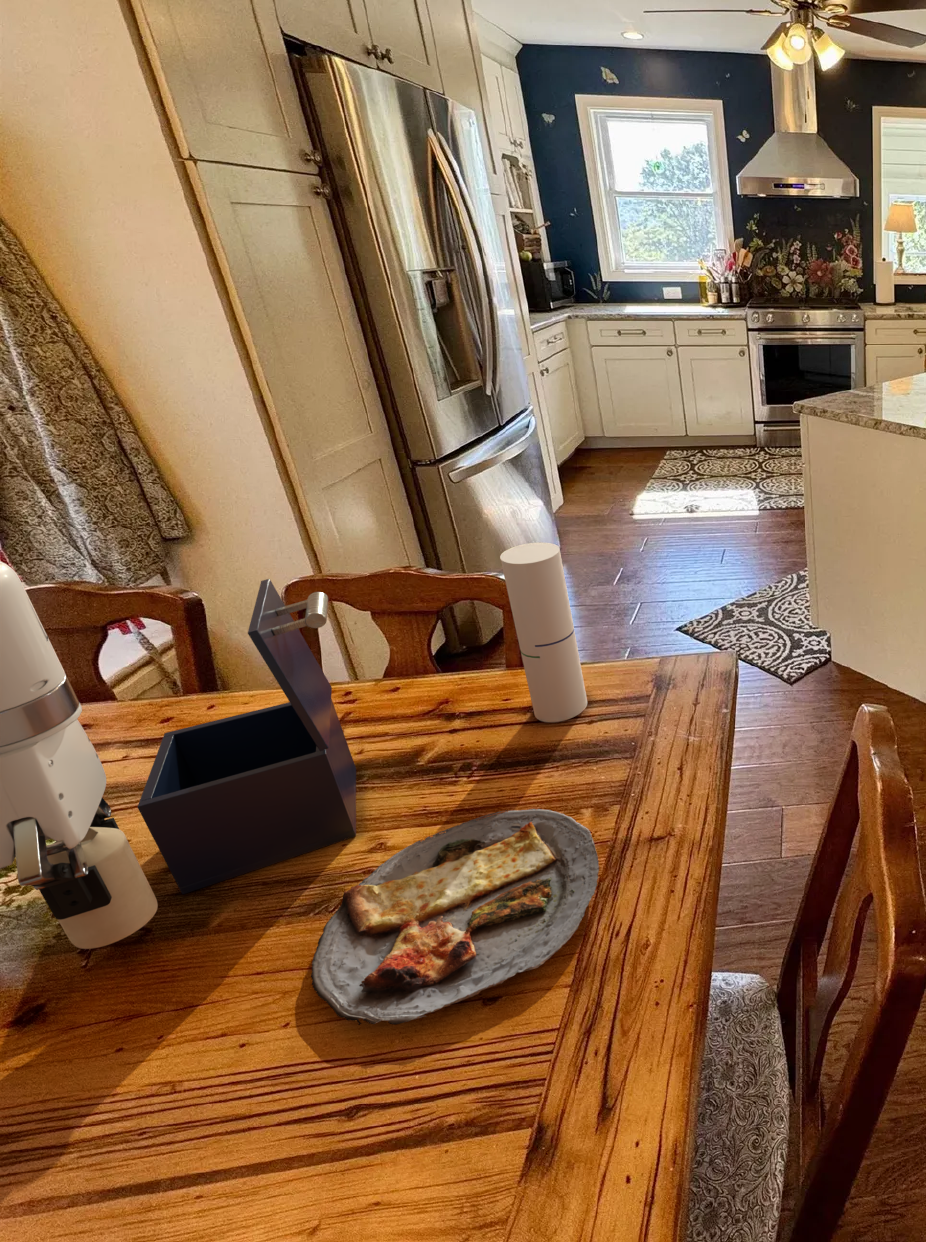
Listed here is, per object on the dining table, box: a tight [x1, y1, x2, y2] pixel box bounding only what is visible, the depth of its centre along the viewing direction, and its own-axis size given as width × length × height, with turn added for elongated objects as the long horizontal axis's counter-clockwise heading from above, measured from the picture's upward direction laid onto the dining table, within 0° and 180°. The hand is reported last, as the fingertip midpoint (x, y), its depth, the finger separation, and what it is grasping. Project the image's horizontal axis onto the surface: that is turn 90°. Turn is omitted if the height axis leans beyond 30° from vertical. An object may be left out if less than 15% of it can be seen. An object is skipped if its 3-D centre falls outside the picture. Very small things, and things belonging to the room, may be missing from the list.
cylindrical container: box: [499, 541, 588, 723], centre depth 103 cm, size 7×7×25 cm
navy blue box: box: [137, 698, 357, 895], centre depth 83 cm, size 15×14×12 cm
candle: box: [47, 827, 159, 950], centre depth 64 cm, size 6×6×10 cm
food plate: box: [310, 808, 601, 1026], centre depth 75 cm, size 25×23×4 cm
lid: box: [247, 578, 333, 751], centre depth 82 cm, size 16×14×5 cm
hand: (94, 882), depth 64 cm, fingers closed on candle, 5 cm apart
